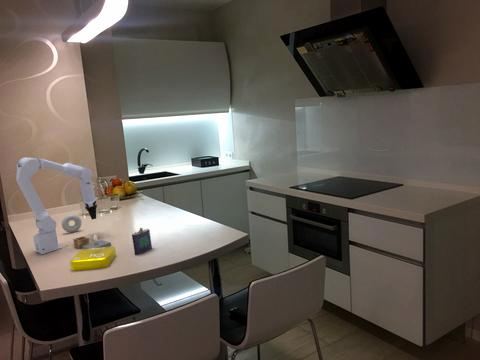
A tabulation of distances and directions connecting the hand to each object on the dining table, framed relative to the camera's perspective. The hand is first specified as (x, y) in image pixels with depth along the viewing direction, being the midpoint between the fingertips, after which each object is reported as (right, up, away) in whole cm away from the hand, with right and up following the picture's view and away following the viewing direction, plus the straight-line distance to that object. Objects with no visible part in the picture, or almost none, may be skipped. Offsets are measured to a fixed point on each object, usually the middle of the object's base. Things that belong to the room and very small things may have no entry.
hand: (93, 217), depth 205 cm
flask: (+31, -13, -27) cm, 43 cm away
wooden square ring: (-1, -13, -13) cm, 18 cm away
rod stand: (+7, -13, -16) cm, 22 cm away
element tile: (+13, -16, -35) cm, 41 cm away
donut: (-15, -9, +12) cm, 22 cm away
